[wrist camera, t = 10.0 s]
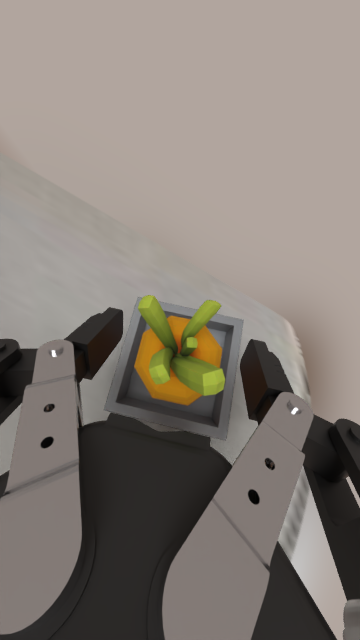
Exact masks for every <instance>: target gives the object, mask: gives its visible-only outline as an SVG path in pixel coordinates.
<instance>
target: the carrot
mask: <svg viewBox="0 0 360 640" xmlns="http://www.w3.org/2000/svg"><path fill="white" fill-rule="evenodd" d="M220 307H221V305H220V304H219V303H218V302H216V301H212V300H206V301H205V302H204V304H203V305H202V306H201V307H200V308H199V309H198V310H197V312H196V313H195V314H194V315H193V317H192V318H191V319H186V318H181V317H176V316H170V317H168V318H166V315H165V313H164V311H163V309H162V307H161V305H160V304H159V302H158V301H157V299H156V298H155V297H154V296H151V295H147V296H145V297H143V298H142V299H141V301H140V302H139V306H138V310H139V312H140V313H141V315H142V317H143V318H144V320H145V321H146V322H147V324H148V325H149V326H150V329H149V330H147V331H145V332H144V333H143V335H142V339H141V342H140V346H139V350H138V354H137V357H136V361H135V365H134V367H135V369H136V371H137V372H138V374H139V376H140V378H141V379H142V381H143V383H144V385H145V386H146V388H147V390H148V392H149V393H150V395H151V397H152V398H155V399H159V400H164V401H168V402H173V403H177V404H182V405H186V406H188V405H190V404H191V403H193V402H194V401H195V400H197V399H198V398H199V397H201V396H202V395H203V396H206V395H214V394H217V393H218V392H220V391H222V390H223V389H224V384H225V377H224V373H223V370H222V369H221V368H220V363H221V356H222V348H221V347H220V345H219V344H218V342H217V341H216V340H215V338H214V337H213V335H212V334H211V333H210V331H209V330H208V328H207V327H206V326H205V325H206V324H207V323H208V321H209V320H210V319H211V318H212V317H213V316H214V315H215V314H216V312H217V311H218V310H219V309H220Z"/></svg>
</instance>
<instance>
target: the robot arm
mask: <svg viewBox="0 0 360 640" xmlns="http://www.w3.org/2000/svg"><path fill="white" fill-rule="evenodd" d="M122 334H123V311H122V310H120V309H115V308H111V307H109V308H108V309H107V310H106V311H105V312H104V313H102V314H100V313H99V314H96V315H94V316H91V317H90V318H89V319H88V320H87V321H86V322H84V323H83V324H82V325H81V326H80V327H78V328H77V329H76V330H75V331H74V332H72V333H71V334H70V335H69V336H68V337H67V338H65V339H64V340H54V341H50V342H47V343H45V344H43V345H42V346H41V347H40V348H39V349H20V346H19V344H18V342H17V341H16V340H13V339H0V425H1V424H2V423H3V422H4V421H5V420H6V419H7V418H8V416H9V415H10V414H11V413H12V412H13V411H14V410H15V409H16V408H17V407H18V406H19V405H20V404H21V403H22V407H21V412H20V418H19V423H18V428H17V434H16V439H15V445H14V450H13V455H12V461H11V466H10V470H9V471H8V472H6V473H4V474H3V475H1V476H0V640H337V639H336V637H335V635H334V634H333V632H332V631H331V629H330V627H329V625H328V624H327V622H326V620H325V619H324V617H323V615H322V614H321V612H320V611H319V609H318V607H317V606H316V604H315V602H314V600H313V599H312V597H311V595H310V594H309V592H308V590H307V589H306V587H305V586H304V584H303V582H302V581H301V579H300V577H299V575H298V574H297V572H296V570H295V569H294V567H293V566H292V564H291V562H290V560H289V559H288V557H287V555H286V554H285V552H284V551H283V549H282V547H281V546H280V544H279V542H278V541H277V540H278V537H279V534H280V531H281V528H282V525H283V522H284V519H285V516H286V513H287V510H288V507H289V504H290V501H291V498H292V495H293V492H294V489H295V486H296V483H297V480H298V477H299V474H300V471H301V468H302V465H303V466H304V469H305V473H306V476H307V479H308V482H309V485H310V488H311V491H312V494H313V497H314V500H315V503H316V506H317V509H318V512H319V516H320V518H321V522H322V525H323V528H324V531H325V534H326V537H327V540H328V543H329V546H330V550H331V553H332V556H333V559H334V562H335V565H336V568H337V571H338V574H339V577H340V580H341V583H342V586H343V590H344V593H345V596H346V599H347V603H346V605H345V607H344V614H343V615H344V616H343V617H344V619H343V620H344V627H345V629H344V631H343V640H360V508H359V506H358V504H357V502H356V500H355V497H354V495H353V493H352V491H351V489H350V487H349V484H348V482H347V480H346V478H347V477H348V476H349V477H350V479H351V481H352V483H353V485H354V487H355V489H356V491H357V493H358V495H359V497H360V426H359V425H358V424H356V423H354V422H352V421H350V420H347V419H339V420H337V421H336V422H335V423H334V424H332V423H330V422H328V421H326V420H324V419H322V418H320V417H318V416H316V415H314V414H313V411H312V409H311V408H310V406H309V405H308V404H307V403H306V402H305V401H304V400H303V399H302V398H300V397H299V396H297V395H295V394H294V392H293V390H292V388H291V386H290V383H289V381H288V379H287V377H286V375H285V374H284V370H283V368H282V366H281V363H280V361H279V359H278V358H277V357H276V356H275V355H274V354H273V353H272V352H269V351H268V348H267V346H266V343H265V342H262V341H258V340H253V339H251V340H250V341H249V343H248V345H247V347H246V350H245V352H244V354H243V356H242V359H241V363H240V371H241V376H242V382H243V388H244V394H245V399H246V405H247V411H248V416H249V419H251V420H255V421H257V422H258V427H257V428H256V430H255V431H254V433H253V434H252V436H251V438H250V439H249V441H248V442H247V444H246V445H245V447H244V448H243V450H242V451H241V453H240V454H239V456H238V458H237V459H236V461H235V462H234V464H233V465H231V464H230V463H229V462H228V461H227V460H226V459H225V457H223V456H222V455H221V454H220V453H219V452H218V451H216V450H215V449H213V448H212V447H210V437H206V436H202V435H198V434H194V433H190V432H186V431H178V432H158V431H155V430H154V429H152V428H150V427H148V426H147V425H145V424H143V423H141V422H140V421H138V420H136V419H134V418H130V417H126V416H122V415H118V414H114V413H110V415H109V417H108V419H107V421H97V422H93V423H89V424H87V425H84V423H83V415H82V403H81V392H80V382H81V380H82V379H83V378H85V379H89V380H92V378H93V377H94V376H95V374H96V373H97V372H98V370H99V369H100V367H101V366H102V365H103V363H104V362H105V361H106V359H107V358H108V356H109V355H110V354H111V352H112V351H113V350H114V348H115V347H116V346H117V344H118V343H119V341H120V340H121V338H122Z"/></svg>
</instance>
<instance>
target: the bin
mask: <svg viewBox="0 0 360 640" xmlns="http://www.w3.org/2000/svg"><path fill="white" fill-rule="evenodd" d="M141 299H142V298H141V297H138V298H137V302H136V305H135V308H134V311H133V315H132V318H131V321H130V325H129V328H128V331H127V335H126V338H125V341H124V344H123V348H122V351H121V354H120V358H119V361H118V364H117V368H116V371H115V374H114V378H113V381H112V384H111V387H110V391H109V394H108V397H107V401H106V404H105V407H104V410H106V411H110V412H114V413H117V414H121V415H125V416H129V417H133V418H137V419H141V420H145V421H149V422H153V423H157V424H161V425H165V426H169V427H173V428H177V429H181V430H185V431H189V432H193V433H197V434H201V435H205V436H209V437H213V438H217V439H221V440H225V441H226V438H227V431H228V424H229V417H230V410H231V403H232V397H233V390H234V383H235V376H236V369H237V362H238V355H239V348H240V342H241V335H242V328H243V321H244V320H242V319H238V318H233V317H229V316H224V315H219V314H215V315H214V316H213V317H212V318H211V319H210V320H209V321H208V323H207V324H206V325H205V326H206V327H207V328H208V330H209V331H210V333H211V334H212V335H213V337H214V338H215V340H216V341H217V342H218V344H219V345H220V347H221V348H222V356H221V363H220V368H221V369H222V370H223V373H224V377H225V384H224V389H223V390H222V391H220V392H218V393H217V394H214V395H206V396H203V395H202V396H201V397H199V398H198V399H197V400H195V401H194V402H193V403H191V404H190V405H188V406H186V405H182V404H177V403H173V402H168V401H164V400H159V399H155V398H152V397H151V395H150V393H149V392H148V390H147V388H146V386H145V385H144V383H143V381H142V379H141V378H140V376H139V374H138V372H137V371H136V369H135V367H134V365H135V361H136V357H137V354H138V350H139V346H140V342H141V339H142V335H143V333H144V332H145V331H147V330H149V329H150V326H149V325H148V324H147V322H146V321H145V320H144V318H143V317H142V315H141V313H140V312H139V310H138V306H139V302H140V301H141ZM158 302H159V304H160V305H161V307H162V309H163V311H164V313H165V315H166V318H168V317H170V316H176V317H181V318H186V319H191V318H192V317H193V315H194V314H195V313H196V312H197V310H196V309H192V308H187V307H183V306H178V305H173V304H169V303H164V302H160V301H158Z"/></svg>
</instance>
